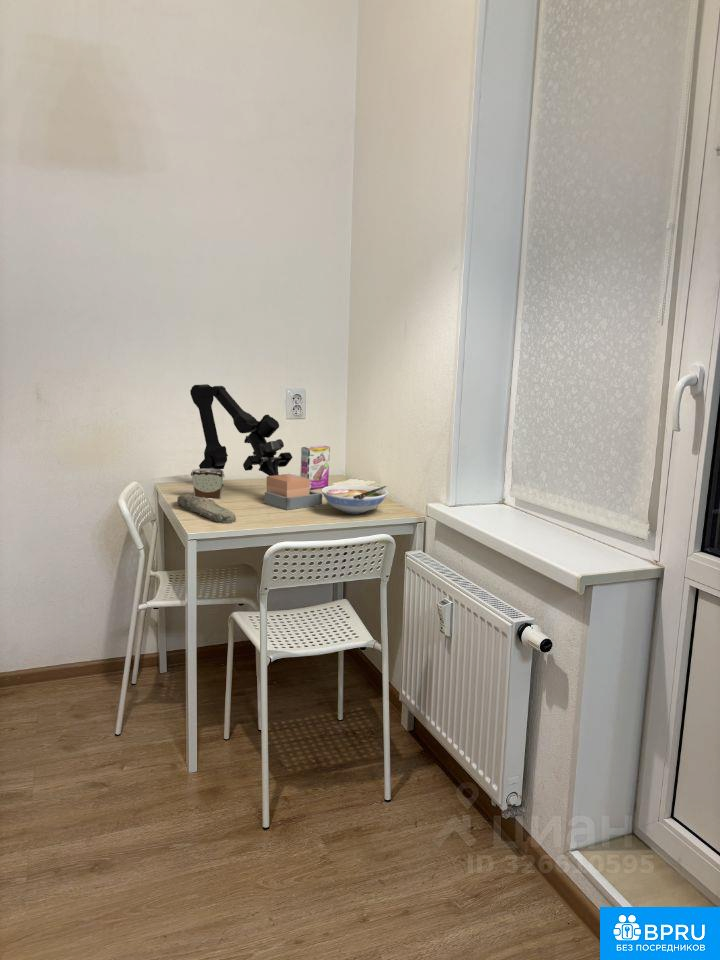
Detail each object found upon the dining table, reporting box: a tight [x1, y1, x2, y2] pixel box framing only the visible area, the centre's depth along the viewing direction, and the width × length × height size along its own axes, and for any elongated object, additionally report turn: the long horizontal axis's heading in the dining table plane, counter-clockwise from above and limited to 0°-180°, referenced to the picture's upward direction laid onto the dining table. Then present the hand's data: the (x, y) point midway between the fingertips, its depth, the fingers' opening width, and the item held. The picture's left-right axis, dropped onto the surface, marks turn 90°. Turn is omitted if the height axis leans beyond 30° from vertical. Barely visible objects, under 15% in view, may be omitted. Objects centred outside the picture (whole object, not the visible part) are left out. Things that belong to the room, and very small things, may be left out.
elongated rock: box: [176, 493, 237, 524], centre depth 257 cm, size 35×5×10 cm
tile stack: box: [265, 473, 311, 498], centre depth 276 cm, size 12×10×9 cm
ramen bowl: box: [320, 484, 389, 515], centre depth 265 cm, size 25×23×8 cm
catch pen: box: [264, 490, 323, 511], centre depth 274 cm, size 13×15×4 cm
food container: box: [190, 468, 226, 500], centre depth 281 cm, size 12×6×10 cm, turn 84°
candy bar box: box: [299, 445, 331, 491], centre depth 304 cm, size 11×5×16 cm, turn 136°
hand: (277, 479), depth 280 cm, fingers closed
